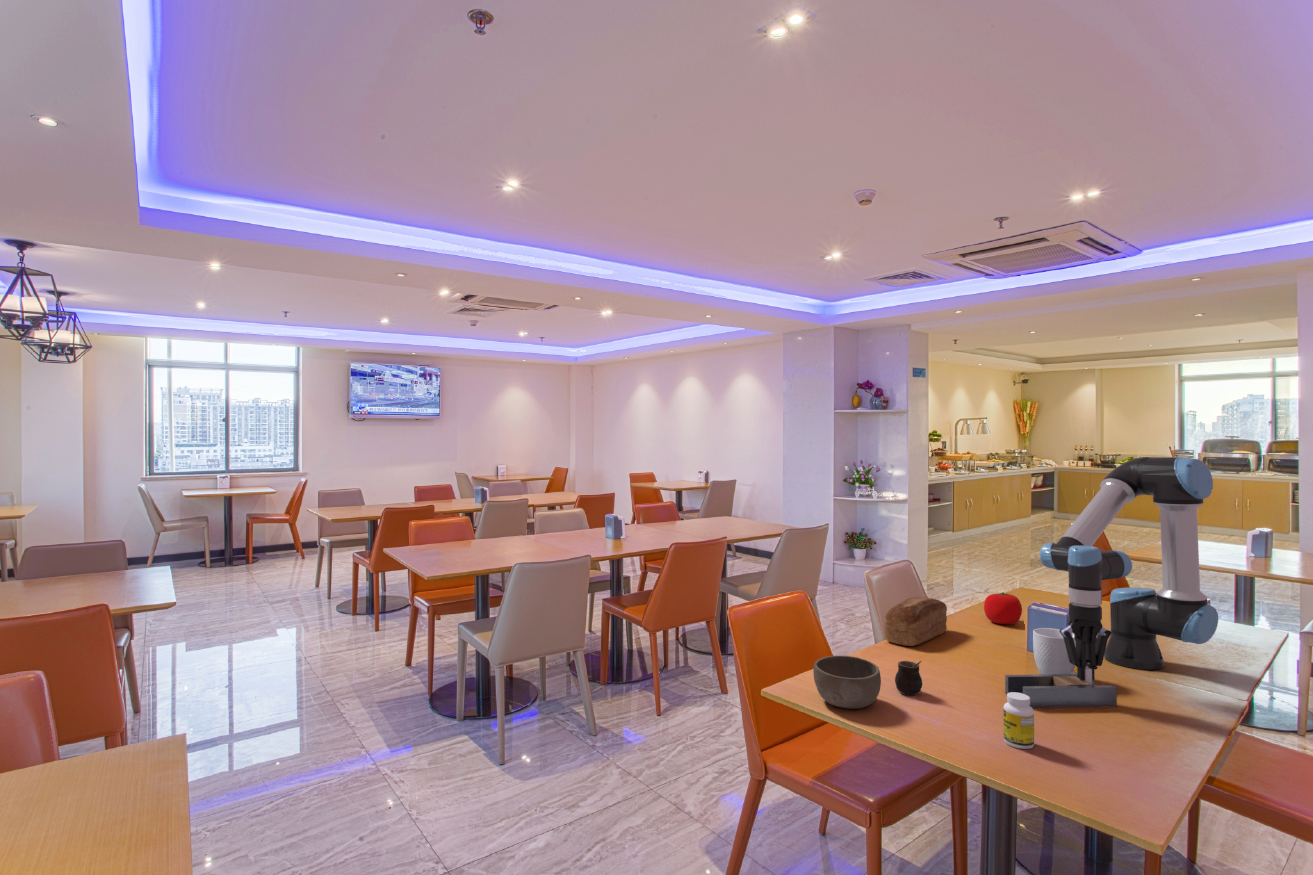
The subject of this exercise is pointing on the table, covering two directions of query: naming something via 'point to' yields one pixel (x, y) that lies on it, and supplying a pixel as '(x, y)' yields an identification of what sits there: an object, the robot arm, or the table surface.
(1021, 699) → the pill bottle
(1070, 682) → the block
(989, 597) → the tomato
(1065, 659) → the mug
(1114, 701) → the chute
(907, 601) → the bread
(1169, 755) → the table surface
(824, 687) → the bowl
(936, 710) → the table surface
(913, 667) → the mate gourd
